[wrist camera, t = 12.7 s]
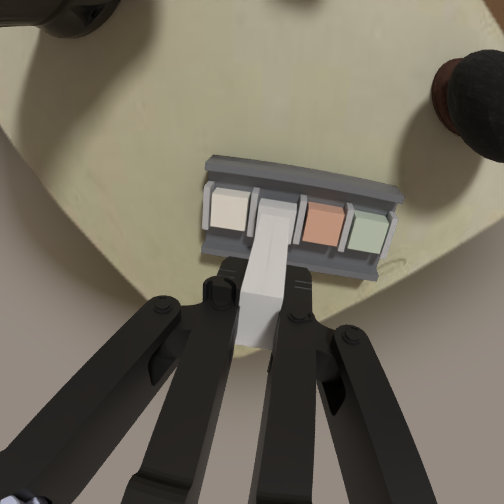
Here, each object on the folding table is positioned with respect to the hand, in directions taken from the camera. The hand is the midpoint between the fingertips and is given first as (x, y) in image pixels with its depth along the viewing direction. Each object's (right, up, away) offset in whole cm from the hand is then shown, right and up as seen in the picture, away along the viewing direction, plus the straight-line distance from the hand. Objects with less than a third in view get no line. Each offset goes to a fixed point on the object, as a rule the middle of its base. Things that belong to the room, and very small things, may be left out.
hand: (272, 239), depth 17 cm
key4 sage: (+14, +3, +24) cm, 28 cm away
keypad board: (+5, +5, +27) cm, 28 cm away
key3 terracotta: (+8, +3, +25) cm, 26 cm away
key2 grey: (+2, +4, +24) cm, 24 cm away
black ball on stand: (+27, +20, +15) cm, 37 cm away
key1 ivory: (-4, +5, +26) cm, 26 cm away
